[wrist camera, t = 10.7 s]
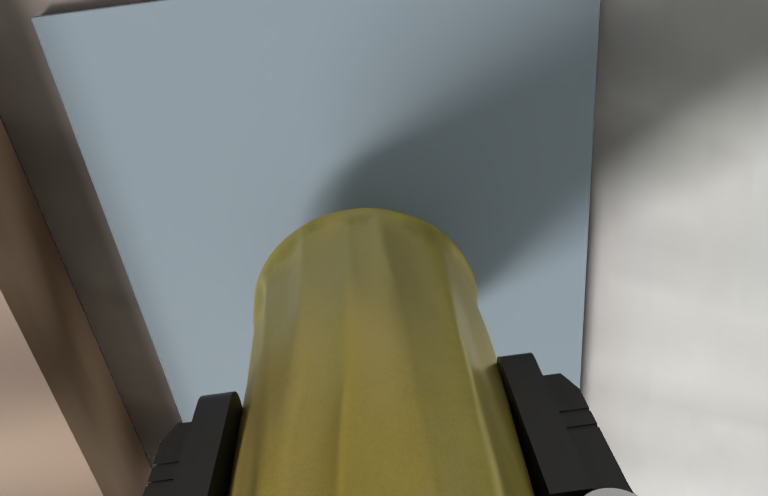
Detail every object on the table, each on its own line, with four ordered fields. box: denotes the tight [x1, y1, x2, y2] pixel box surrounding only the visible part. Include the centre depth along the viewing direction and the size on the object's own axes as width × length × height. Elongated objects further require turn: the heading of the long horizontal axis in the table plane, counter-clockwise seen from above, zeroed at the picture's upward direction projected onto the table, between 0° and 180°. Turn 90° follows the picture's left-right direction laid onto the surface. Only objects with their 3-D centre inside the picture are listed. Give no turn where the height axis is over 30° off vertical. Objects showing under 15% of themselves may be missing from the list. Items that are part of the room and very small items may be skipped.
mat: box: [31, 0, 600, 423], centre depth 18 cm, size 16×14×1 cm
